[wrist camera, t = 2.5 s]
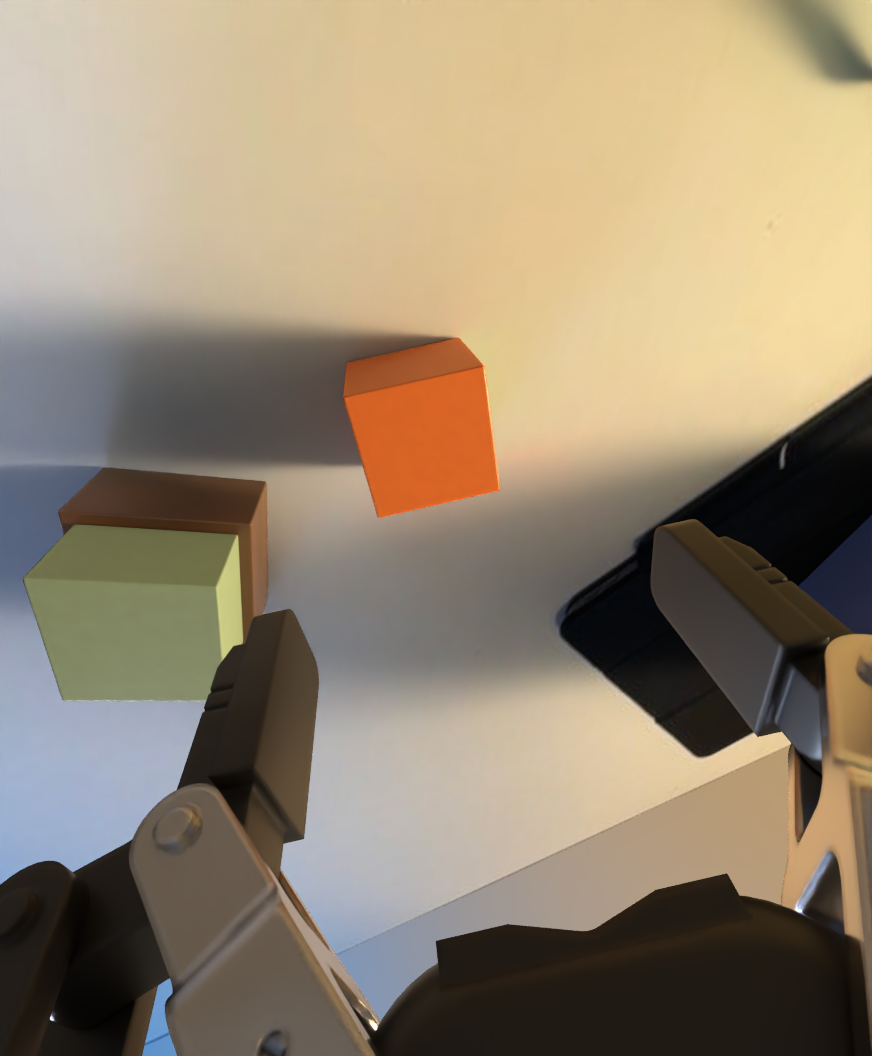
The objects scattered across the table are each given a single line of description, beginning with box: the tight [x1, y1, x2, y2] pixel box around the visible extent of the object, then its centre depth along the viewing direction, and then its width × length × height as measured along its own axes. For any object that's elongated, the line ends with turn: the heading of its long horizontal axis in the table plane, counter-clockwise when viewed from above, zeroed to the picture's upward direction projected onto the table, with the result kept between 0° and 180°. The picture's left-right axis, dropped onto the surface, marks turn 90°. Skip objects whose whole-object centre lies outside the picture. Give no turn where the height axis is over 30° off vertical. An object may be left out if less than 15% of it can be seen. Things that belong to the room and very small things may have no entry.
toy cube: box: [343, 338, 500, 518], centre depth 20 cm, size 5×5×5 cm
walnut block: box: [58, 468, 268, 644], centre depth 23 cm, size 7×7×4 cm
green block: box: [23, 524, 243, 701], centre depth 19 cm, size 6×6×4 cm
